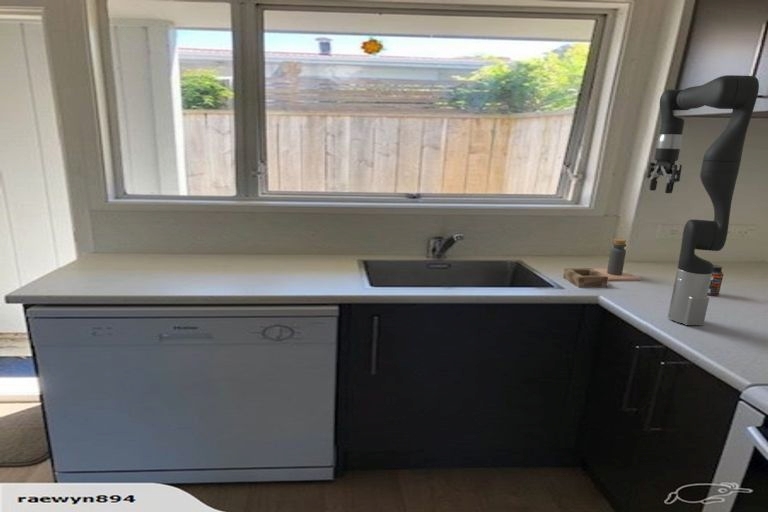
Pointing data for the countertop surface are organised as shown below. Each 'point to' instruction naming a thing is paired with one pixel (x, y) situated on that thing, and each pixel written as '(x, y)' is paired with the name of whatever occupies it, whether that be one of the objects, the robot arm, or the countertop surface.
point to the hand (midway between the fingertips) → (660, 191)
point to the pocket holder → (585, 277)
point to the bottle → (617, 257)
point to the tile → (618, 276)
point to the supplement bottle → (715, 281)
